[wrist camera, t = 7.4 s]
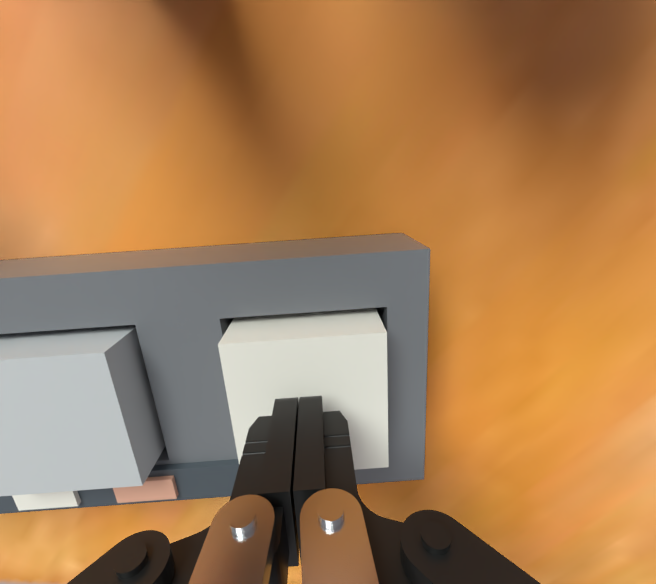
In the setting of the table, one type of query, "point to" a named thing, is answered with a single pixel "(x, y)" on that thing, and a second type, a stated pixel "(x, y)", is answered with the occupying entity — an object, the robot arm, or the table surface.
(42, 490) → the grey key
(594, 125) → the table surface
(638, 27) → the table surface
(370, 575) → the robot arm
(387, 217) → the table surface
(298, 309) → the keypad housing
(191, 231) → the table surface
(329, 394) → the cream key
